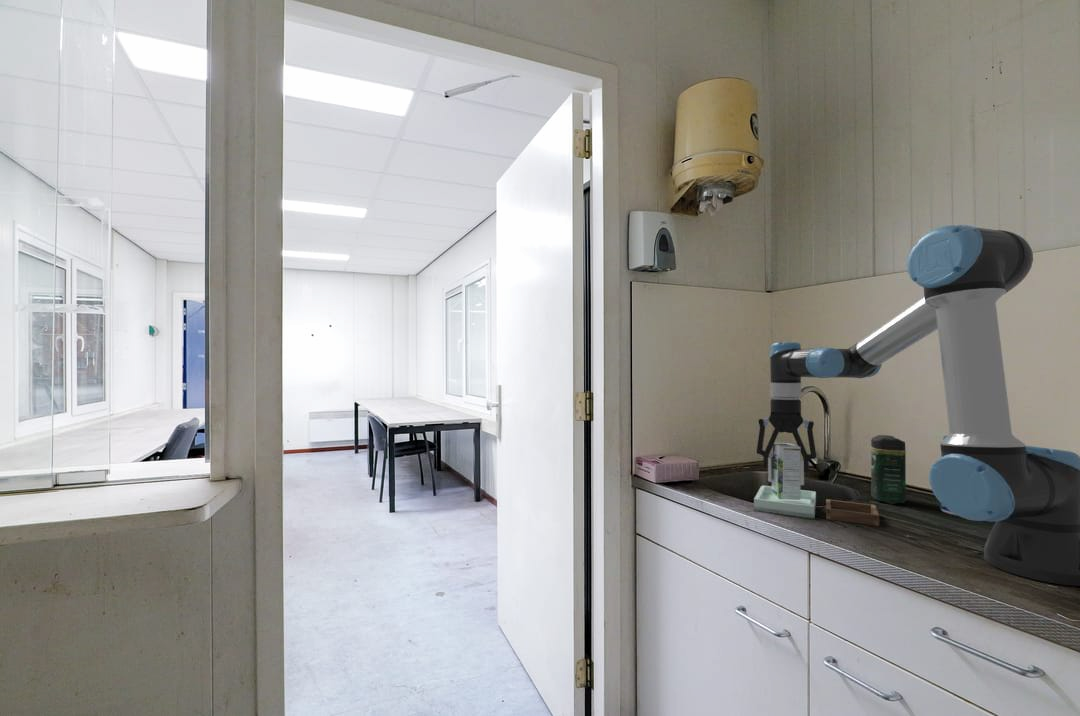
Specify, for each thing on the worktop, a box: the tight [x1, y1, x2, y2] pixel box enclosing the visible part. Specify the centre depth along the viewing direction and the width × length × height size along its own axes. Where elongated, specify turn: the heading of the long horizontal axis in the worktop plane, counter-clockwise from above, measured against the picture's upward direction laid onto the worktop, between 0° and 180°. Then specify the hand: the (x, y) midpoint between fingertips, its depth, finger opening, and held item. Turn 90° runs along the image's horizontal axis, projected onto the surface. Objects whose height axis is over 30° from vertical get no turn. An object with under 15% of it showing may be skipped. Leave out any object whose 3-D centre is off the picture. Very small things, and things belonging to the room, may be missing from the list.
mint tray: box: [753, 484, 817, 520], centre depth 134 cm, size 18×14×3 cm
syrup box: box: [771, 442, 802, 500], centre depth 135 cm, size 6×6×14 cm
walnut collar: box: [825, 498, 880, 527], centre depth 125 cm, size 11×11×2 cm
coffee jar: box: [870, 434, 907, 504], centre depth 142 cm, size 10×8×19 cm
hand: (786, 482), depth 134 cm, fingers closed on syrup box, 7 cm apart
